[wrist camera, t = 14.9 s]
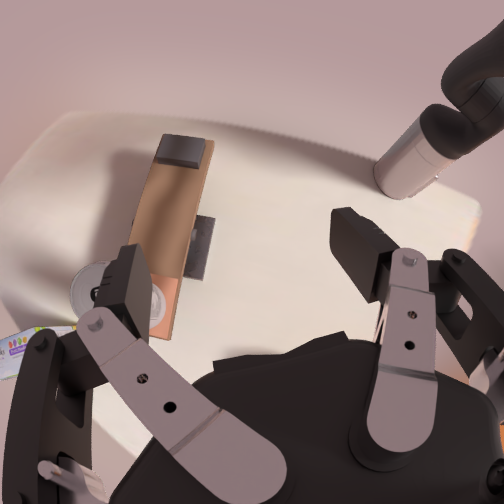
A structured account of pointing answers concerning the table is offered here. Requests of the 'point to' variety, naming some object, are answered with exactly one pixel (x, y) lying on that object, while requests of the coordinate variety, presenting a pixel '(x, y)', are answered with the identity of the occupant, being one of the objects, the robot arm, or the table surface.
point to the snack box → (21, 349)
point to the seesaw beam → (171, 216)
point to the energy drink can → (87, 289)
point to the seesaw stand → (199, 248)
